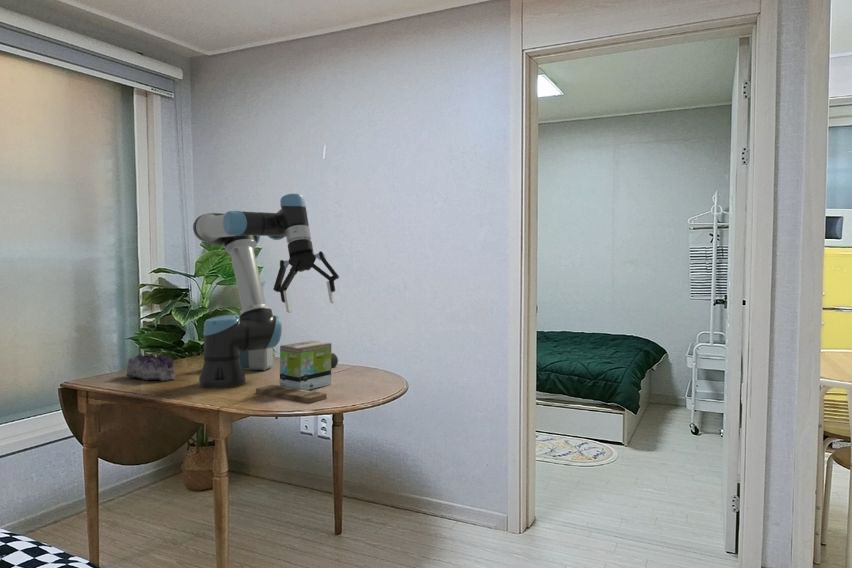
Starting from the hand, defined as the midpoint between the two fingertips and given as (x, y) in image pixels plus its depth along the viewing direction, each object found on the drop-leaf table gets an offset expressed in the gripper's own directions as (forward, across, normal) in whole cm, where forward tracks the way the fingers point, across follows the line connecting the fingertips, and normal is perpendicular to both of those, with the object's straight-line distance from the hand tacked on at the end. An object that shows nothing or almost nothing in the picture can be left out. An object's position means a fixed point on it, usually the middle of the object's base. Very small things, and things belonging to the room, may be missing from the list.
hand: (310, 307), depth 182 cm
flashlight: (+14, -13, +54) cm, 57 cm away
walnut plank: (+24, -13, +10) cm, 30 cm away
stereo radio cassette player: (+8, -41, +52) cm, 67 cm away
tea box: (+22, -11, +23) cm, 34 cm away
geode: (+6, -68, +34) cm, 76 cm away
